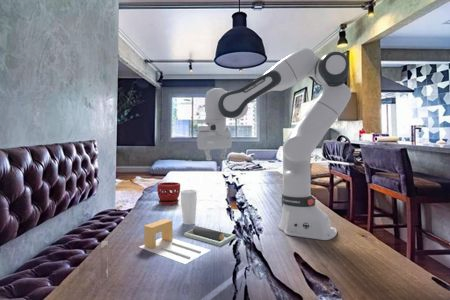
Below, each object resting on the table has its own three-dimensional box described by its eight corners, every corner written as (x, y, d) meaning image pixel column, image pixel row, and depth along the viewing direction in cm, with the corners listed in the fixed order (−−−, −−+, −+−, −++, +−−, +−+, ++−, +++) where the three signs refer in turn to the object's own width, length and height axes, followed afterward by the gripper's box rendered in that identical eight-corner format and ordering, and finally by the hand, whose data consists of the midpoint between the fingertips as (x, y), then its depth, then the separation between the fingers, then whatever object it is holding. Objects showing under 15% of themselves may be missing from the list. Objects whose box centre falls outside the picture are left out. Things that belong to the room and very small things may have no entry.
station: (211, 253, 87) (211, 248, 87) (185, 268, 78) (185, 262, 78) (165, 239, 100) (165, 234, 100) (138, 250, 91) (138, 245, 91)
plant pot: (178, 206, 149) (177, 185, 149) (154, 206, 150) (154, 185, 149) (182, 200, 162) (182, 181, 162) (160, 201, 163) (160, 181, 162)
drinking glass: (182, 228, 112) (181, 193, 112) (180, 223, 119) (180, 190, 118) (198, 226, 114) (197, 192, 113) (195, 222, 121) (195, 189, 120)
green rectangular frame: (235, 240, 98) (235, 234, 98) (220, 249, 91) (220, 242, 91) (200, 231, 108) (200, 226, 108) (184, 238, 101) (184, 232, 101)
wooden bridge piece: (172, 239, 96) (172, 220, 96) (152, 248, 89) (151, 227, 88) (165, 237, 98) (164, 218, 98) (144, 245, 91) (143, 225, 91)
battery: (226, 237, 97) (223, 230, 95) (221, 244, 94) (218, 237, 93) (198, 230, 104) (195, 223, 103) (193, 236, 102) (190, 230, 101)
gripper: (223, 128, 124) (224, 157, 125) (194, 126, 107) (194, 161, 108) (235, 127, 120) (235, 158, 121) (206, 126, 104) (206, 161, 104)
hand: (216, 159), depth 114 cm, fingers open, 8 cm apart
